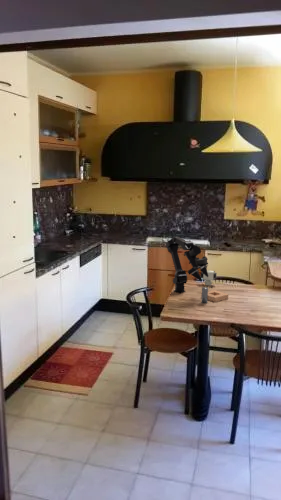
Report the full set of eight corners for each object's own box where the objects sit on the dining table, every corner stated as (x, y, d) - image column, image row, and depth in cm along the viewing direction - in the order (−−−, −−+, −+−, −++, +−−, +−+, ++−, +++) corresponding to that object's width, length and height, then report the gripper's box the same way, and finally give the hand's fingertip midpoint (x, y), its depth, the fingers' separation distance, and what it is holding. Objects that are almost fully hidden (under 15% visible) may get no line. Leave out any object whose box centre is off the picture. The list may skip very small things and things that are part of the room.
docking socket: (201, 297, 280) (201, 293, 279) (214, 294, 287) (214, 290, 287) (215, 302, 270) (215, 297, 269) (228, 298, 277) (228, 294, 277)
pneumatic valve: (215, 286, 307) (216, 271, 305) (200, 285, 310) (200, 270, 308) (216, 284, 313) (216, 269, 310) (200, 283, 315) (201, 268, 313)
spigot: (200, 302, 269) (200, 287, 267) (204, 301, 271) (204, 286, 269) (204, 303, 266) (205, 289, 264) (208, 302, 268) (209, 288, 266)
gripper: (194, 256, 262) (206, 277, 260) (207, 250, 276) (219, 269, 274) (182, 264, 269) (194, 284, 267) (196, 257, 283) (207, 276, 281)
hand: (204, 278), depth 272 cm, fingers open, 9 cm apart
